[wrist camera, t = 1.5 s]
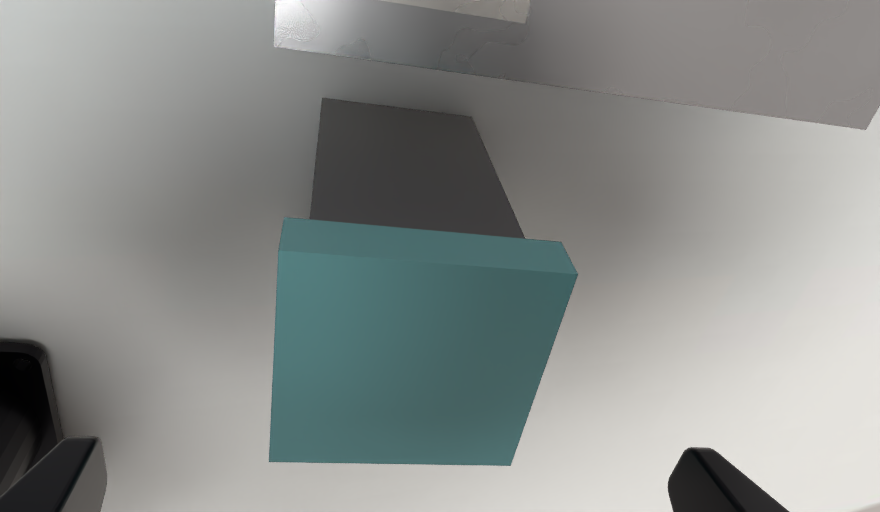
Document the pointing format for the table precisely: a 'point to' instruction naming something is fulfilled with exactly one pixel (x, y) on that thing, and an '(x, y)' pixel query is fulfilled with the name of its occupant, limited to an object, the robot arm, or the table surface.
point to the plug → (409, 299)
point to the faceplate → (624, 47)
